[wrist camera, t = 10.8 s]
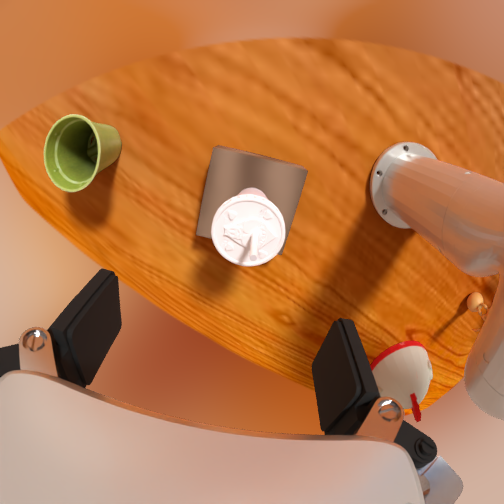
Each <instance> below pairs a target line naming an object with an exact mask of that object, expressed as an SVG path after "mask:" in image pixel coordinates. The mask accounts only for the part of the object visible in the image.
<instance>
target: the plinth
mask: <svg viewBox="0 0 504 504" xmlns="http://www.w3.org/2000/svg"><path fill="white" fill-rule="evenodd" d="M307 172H308V171H307V170H306V169H305V168H304V167H303V166H300V165H296V164H293V163H289V162H286V161H282V160H278V159H275V158H271V157H267V156H263V155H259V154H255V153H251V152H247V151H242V150H238V149H233V148H229V147H224V146H219V145H218V146H216V147H213V152H212V156H211V161H210V165H209V170H208V175H207V179H206V184H205V189H204V194H203V199H202V205H201V210H200V215H199V221H198V226H197V232H196V235H198V236H203V237H207V238H211V239H212V235H211V227H212V222H213V218H214V216H215V214H216V212H217V210H218V208H219V207H220V206H221V205H222V204H223V203H224V202H226V201H227V200H229V199H231V198H232V197H235V196H237V195H238V194H239V193H240V192H241V191H242V190H244V189H246V188H257V189H259V190H261V191H262V192H263V193H264V194H265V196H266V197H267V199H268V200H269V201H271V202H272V203H273V204H274V205H275V206H276V207H277V208H278V209H279V211H280V212H281V214H282V216H283V219H284V223H285V240H284V243H283V246H282V248H281V249H280V251H279V252H278V253H277V254H279V255H282V252H283V249H284V246H285V243H286V240H287V237H288V234H289V231H290V228H291V224H292V221H293V218H294V215H295V212H296V208H297V205H298V202H299V199H300V196H301V192H302V189H303V186H304V182H305V179H306V176H307Z"/></svg>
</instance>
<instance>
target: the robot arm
mask: <svg viewBox="0 0 504 504" xmlns="http://www.w3.org/2000/svg"><path fill="white" fill-rule="evenodd" d="M403 148H404V149H403ZM377 171H378V172H379V173H378V174H377ZM370 194H371V199H372V202H373V205H374V207H375V209H376V211H377V212H378V214H379V215H380V216H381V217H382V218H383V219H384V220H385V221H386V222H388V223H389V224H391V225H392V226H395V227H398V228H404V229H407V228H412V229H413V230H415V231H416V232H417V233H418V234H420V235H421V236H422V237H423V238H424V239H426V240H427V241H428V242H429V243H430V244H431V245H433V246H434V247H435V248H436V249H437V250H438V251H439V252H441V253H442V254H443V255H444V256H445V257H446V258H447V259H448V260H449V261H451V262H452V263H453V264H454V265H455V266H456V267H457V268H458V269H460V270H461V271H463V272H464V273H466V274H468V275H471V276H475V277H486V276H491V275H495V274H498V273H499V284H498V287H497V290H496V293H495V296H494V299H493V303H492V306H491V308H490V310H489V313H488V315H487V317H486V320H485V322H484V324H483V326H482V328H481V330H480V332H479V335H478V337H477V339H476V341H475V343H474V345H473V347H472V349H471V351H470V353H469V356H468V358H467V362H466V365H465V371H464V381H465V387H466V390H467V392H468V394H469V396H470V398H471V399H472V401H473V402H474V403H475V404H476V405H477V406H478V407H479V408H480V409H481V410H482V411H484V412H485V413H487V414H489V415H491V416H493V417H496V418H498V419H501V420H504V183H501V182H499V181H496V180H494V179H491V178H488V177H486V176H483V175H480V174H478V173H475V172H472V171H469V170H467V169H464V168H461V167H458V166H455V165H452V164H449V163H445V162H442V161H439V160H437V158H436V157H435V155H434V154H433V153H432V152H431V151H430V150H429V149H427V148H426V147H424V146H423V145H420V144H418V143H413V142H401V143H397V144H394V145H392V146H390V147H389V148H387V149H386V150H385V151H384V152H383V153H382V154H381V155H380V156H379V158H378V159H377V161H376V163H375V164H374V167H373V170H372V173H371V178H370ZM383 209H384V210H383ZM382 210H383V211H382ZM121 323H122V322H121V312H120V300H119V286H118V277H117V276H115V273H114V272H113V271H110V270H106V269H101V270H99V272H98V273H97V274H96V275H95V276H94V277H93V278H92V279H91V280H90V281H89V282H88V283H87V285H86V286H85V287H84V288H83V289H82V290H81V291H80V293H79V294H78V295H76V296H75V298H74V299H73V300H72V301H71V302H70V303H69V305H68V306H67V307H66V308H65V309H64V310H63V312H62V313H61V314H60V315H59V316H58V318H57V319H56V320H55V321H54V323H53V324H52V325H51V326H50V327H49V329H48V330H45V329H44V328H40V327H32V328H29V329H27V330H26V331H25V332H23V333H22V335H21V337H20V339H19V344H15V345H11V346H7V347H2V348H0V504H454V503H455V501H456V500H457V499H458V497H459V496H460V494H461V492H462V490H463V482H462V480H461V478H460V477H459V476H458V475H457V474H456V473H455V472H454V470H453V469H452V468H451V467H450V466H449V465H448V464H447V463H446V461H445V460H444V459H443V458H442V457H441V456H439V457H437V456H436V455H437V447H436V444H435V443H434V441H433V440H432V439H431V438H430V437H428V436H427V435H425V434H424V433H422V432H420V431H419V430H418V429H416V428H415V427H413V426H412V425H410V424H409V423H407V422H406V421H404V420H403V419H404V409H403V407H402V405H401V404H400V403H399V402H398V401H397V400H395V399H393V398H391V397H387V396H385V397H381V396H380V393H379V390H378V387H377V384H376V381H375V378H374V375H373V373H372V370H371V367H370V364H369V361H368V359H367V356H366V353H365V351H364V348H363V345H362V343H361V340H360V338H359V335H358V332H357V330H356V327H355V325H354V322H353V321H352V320H350V319H342V318H339V319H338V321H334V322H333V324H332V326H331V328H330V330H329V332H328V334H327V336H326V338H325V340H324V342H323V344H322V346H321V348H320V350H319V351H318V353H317V355H316V357H315V359H314V361H313V363H312V374H313V380H314V386H315V392H316V399H317V406H318V412H319V418H320V426H321V430H322V431H324V432H325V435H305V434H284V433H270V432H260V431H251V430H243V429H235V428H228V427H222V426H216V425H211V424H205V423H200V422H195V421H190V420H186V419H181V418H177V417H173V416H169V415H165V414H161V413H158V412H154V411H150V410H147V409H143V408H140V407H136V406H134V405H130V404H127V403H124V402H121V401H119V400H116V399H113V398H110V397H107V396H105V395H102V394H99V393H96V392H94V391H91V390H88V389H86V388H85V387H86V385H90V384H91V382H92V381H93V379H94V377H95V375H96V373H97V371H98V369H99V367H100V365H101V364H102V362H103V360H104V358H105V356H106V354H107V353H108V351H109V349H110V347H111V345H112V344H113V342H114V340H115V338H116V337H117V335H118V333H119V331H120V329H121V325H122V324H121Z"/></svg>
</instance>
